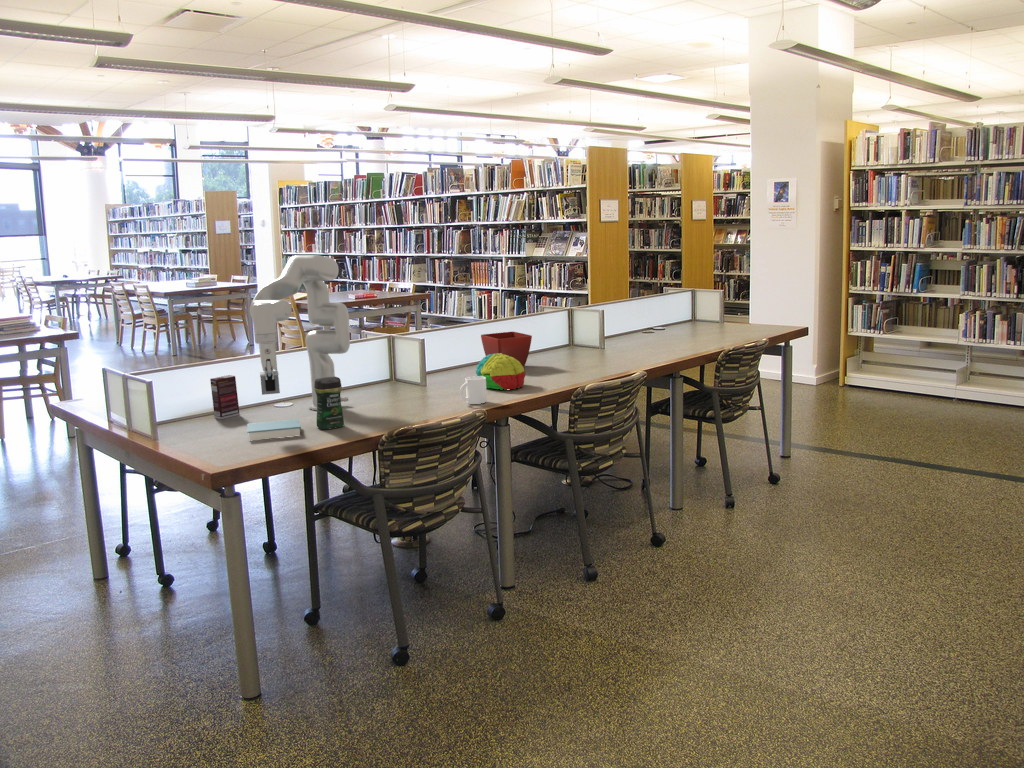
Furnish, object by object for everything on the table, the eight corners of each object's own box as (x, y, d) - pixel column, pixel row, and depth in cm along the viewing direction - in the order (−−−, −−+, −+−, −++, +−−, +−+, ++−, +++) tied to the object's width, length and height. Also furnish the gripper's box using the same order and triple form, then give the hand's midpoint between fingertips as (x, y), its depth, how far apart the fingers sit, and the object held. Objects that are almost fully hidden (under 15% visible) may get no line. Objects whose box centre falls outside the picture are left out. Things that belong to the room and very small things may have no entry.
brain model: (466, 385, 373) (466, 352, 370) (498, 379, 386) (498, 347, 383) (502, 395, 357) (502, 361, 353) (533, 388, 369) (534, 355, 366)
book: (299, 429, 308) (298, 418, 307) (301, 437, 296) (300, 426, 295) (248, 434, 303) (247, 423, 302) (248, 443, 291) (247, 431, 290)
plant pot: (533, 369, 412) (532, 335, 408) (499, 373, 402) (498, 338, 399) (514, 363, 428) (513, 331, 425) (481, 368, 419) (479, 334, 415)
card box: (279, 390, 299) (277, 370, 298) (280, 393, 294) (278, 373, 292) (261, 391, 297) (259, 372, 296) (261, 394, 292) (259, 374, 291)
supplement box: (233, 413, 335) (229, 374, 332) (240, 415, 332) (236, 375, 328) (213, 418, 328) (209, 378, 325) (220, 419, 325) (216, 379, 322)
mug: (465, 407, 332) (464, 382, 330) (454, 404, 339) (453, 379, 337) (490, 403, 339) (489, 378, 337) (479, 399, 346) (478, 375, 344)
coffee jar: (322, 431, 302) (318, 380, 298) (314, 427, 308) (310, 377, 305) (347, 426, 307) (344, 377, 303) (338, 423, 313) (335, 374, 310)
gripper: (278, 340, 285) (282, 392, 288) (276, 334, 301) (280, 384, 304) (255, 342, 283) (259, 394, 286) (254, 336, 299) (259, 385, 302)
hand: (270, 388), depth 295 cm, fingers closed on card box, 5 cm apart
